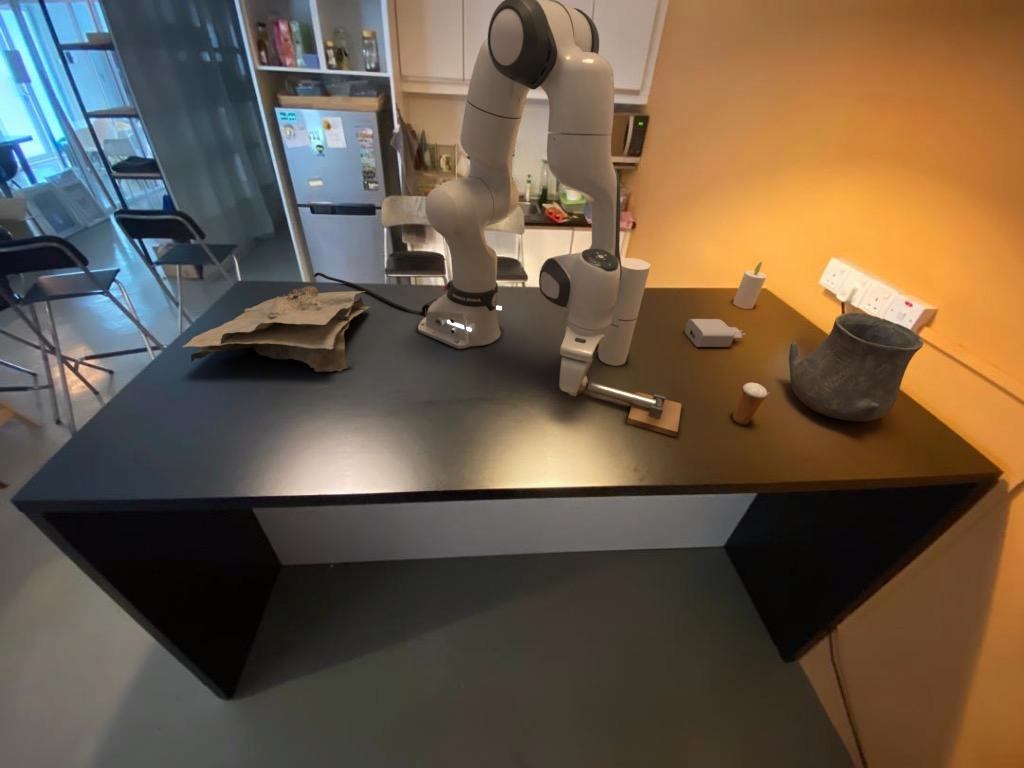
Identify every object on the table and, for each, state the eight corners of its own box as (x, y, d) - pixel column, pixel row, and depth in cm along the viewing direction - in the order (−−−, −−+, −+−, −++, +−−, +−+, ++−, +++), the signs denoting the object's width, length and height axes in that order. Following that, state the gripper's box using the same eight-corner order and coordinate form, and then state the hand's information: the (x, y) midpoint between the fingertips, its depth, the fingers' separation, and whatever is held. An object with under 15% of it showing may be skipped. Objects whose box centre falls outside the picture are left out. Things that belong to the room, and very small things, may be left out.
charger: (749, 348, 117) (697, 348, 115) (732, 332, 124) (683, 331, 123) (756, 333, 114) (703, 333, 113) (738, 317, 121) (688, 317, 120)
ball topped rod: (562, 394, 95) (565, 376, 92) (568, 382, 99) (571, 365, 96) (657, 422, 89) (664, 404, 86) (660, 408, 93) (666, 390, 90)
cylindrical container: (626, 367, 106) (651, 271, 91) (597, 362, 107) (617, 267, 92) (625, 352, 112) (649, 260, 97) (598, 348, 113) (617, 256, 98)
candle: (750, 301, 142) (769, 258, 133) (755, 310, 137) (774, 265, 128) (731, 298, 143) (748, 255, 134) (734, 307, 138) (752, 262, 129)
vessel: (915, 433, 91) (981, 355, 80) (825, 440, 88) (880, 360, 76) (838, 374, 109) (883, 303, 97) (761, 378, 105) (798, 305, 93)
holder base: (626, 423, 89) (630, 408, 87) (634, 396, 97) (638, 382, 94) (675, 437, 86) (681, 423, 84) (679, 408, 94) (684, 395, 92)
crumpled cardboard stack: (252, 282, 117) (366, 274, 117) (270, 337, 124) (378, 329, 124) (165, 322, 85) (323, 310, 86) (197, 393, 92) (342, 381, 93)
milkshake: (754, 431, 89) (774, 393, 83) (727, 421, 91) (745, 384, 85) (757, 419, 92) (776, 382, 86) (731, 410, 94) (748, 373, 88)
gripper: (584, 308, 95) (575, 359, 104) (557, 351, 80) (549, 408, 88) (612, 314, 94) (601, 366, 102) (590, 360, 78) (578, 416, 87)
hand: (576, 386), depth 95 cm, fingers closed on ball topped rod, 5 cm apart
